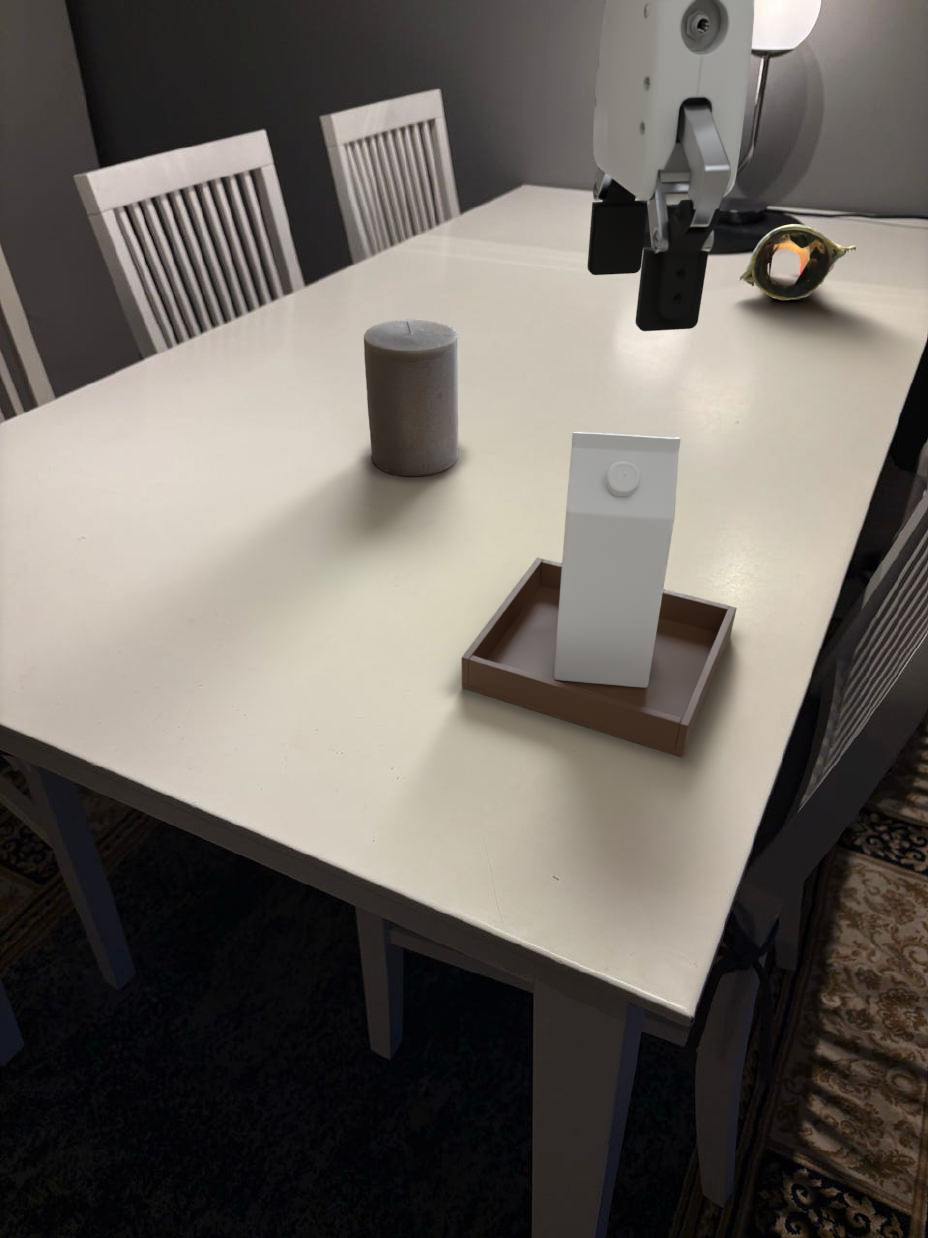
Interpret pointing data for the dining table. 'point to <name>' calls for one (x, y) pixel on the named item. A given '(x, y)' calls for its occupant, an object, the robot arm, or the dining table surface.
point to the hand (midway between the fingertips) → (637, 298)
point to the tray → (653, 716)
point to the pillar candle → (412, 396)
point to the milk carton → (614, 556)
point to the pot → (812, 253)
